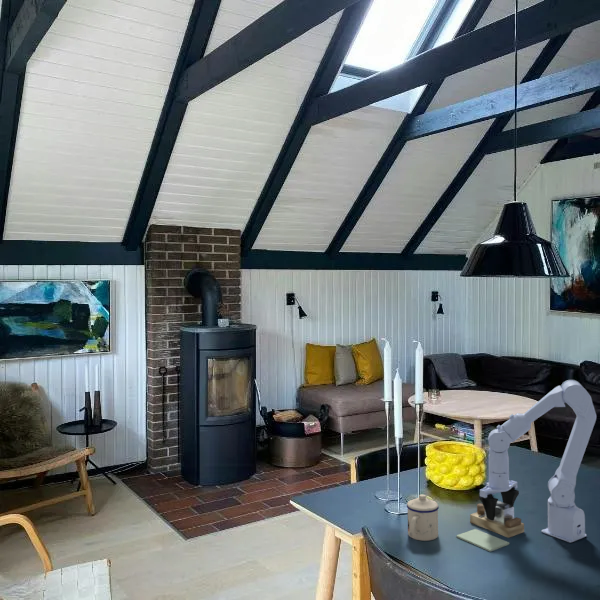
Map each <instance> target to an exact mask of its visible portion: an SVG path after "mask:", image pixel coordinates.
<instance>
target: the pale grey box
mask: <svg viewBox="0 0 600 600" xmlns="http://www.w3.org/2000/svg"><path fill="white" fill-rule="evenodd" d="M485 518H486V519H487V516H486V512H485ZM513 518H515V506H514V505H513V506H511V505H509V504H506V503H503V501H499V500H498V501H497V504H496V508H495V518H494V520H493V521H494V522H497V523H499V524H502V525H505V521H507V520H510V519H513ZM491 521H492V520H491Z"/></svg>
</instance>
